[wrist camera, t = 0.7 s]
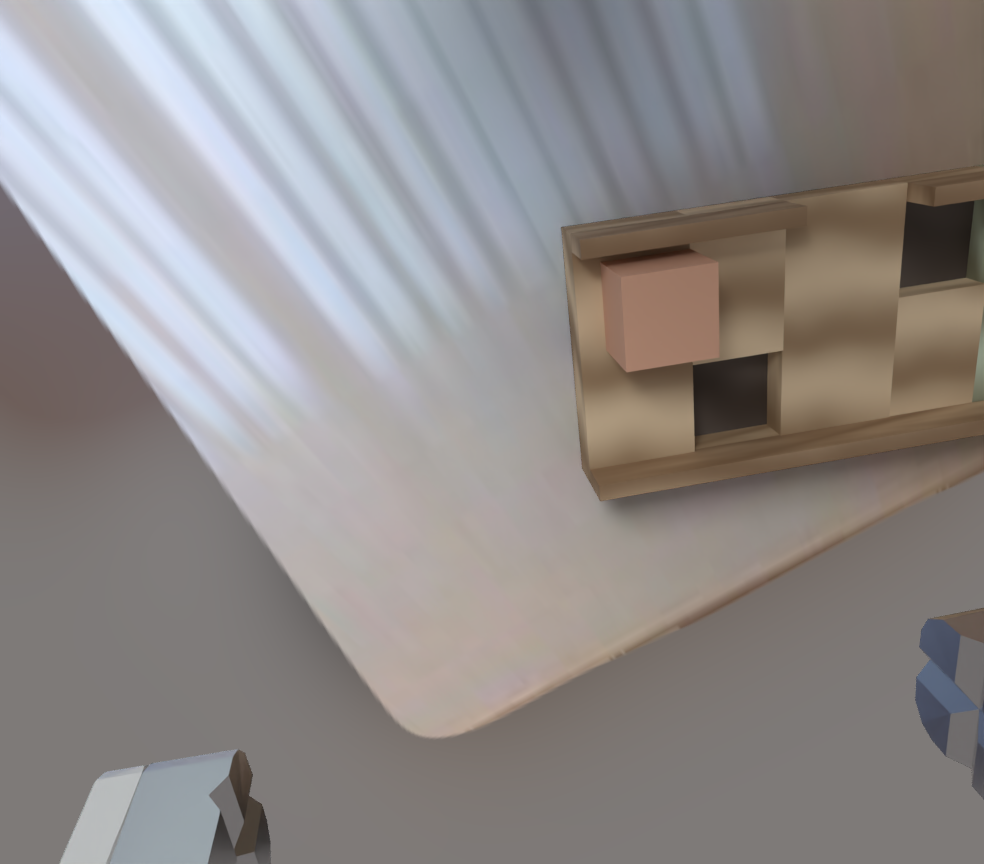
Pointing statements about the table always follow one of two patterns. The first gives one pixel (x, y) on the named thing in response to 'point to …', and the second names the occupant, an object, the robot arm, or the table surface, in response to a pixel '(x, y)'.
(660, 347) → the block
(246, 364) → the table surface
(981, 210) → the trap box
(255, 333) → the table surface
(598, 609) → the table surface
